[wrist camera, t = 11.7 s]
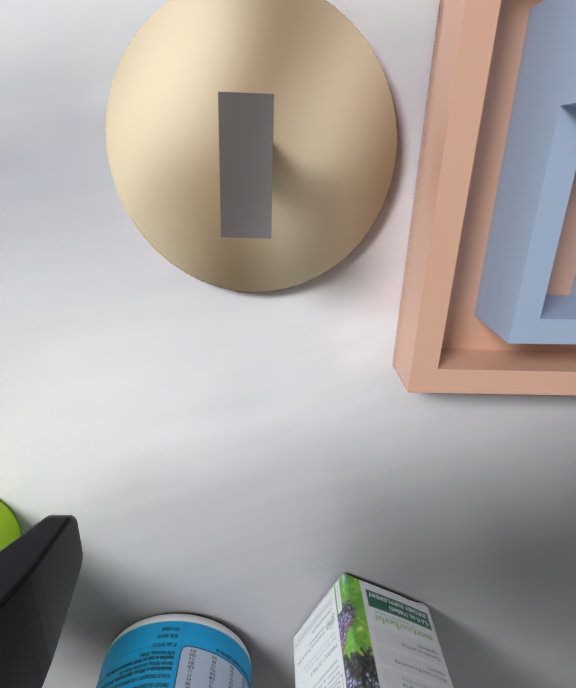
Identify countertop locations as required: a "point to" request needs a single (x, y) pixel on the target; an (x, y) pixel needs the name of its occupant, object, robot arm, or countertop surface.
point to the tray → (471, 217)
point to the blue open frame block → (534, 188)
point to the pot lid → (251, 139)
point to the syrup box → (368, 641)
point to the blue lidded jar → (176, 655)
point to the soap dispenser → (7, 526)
